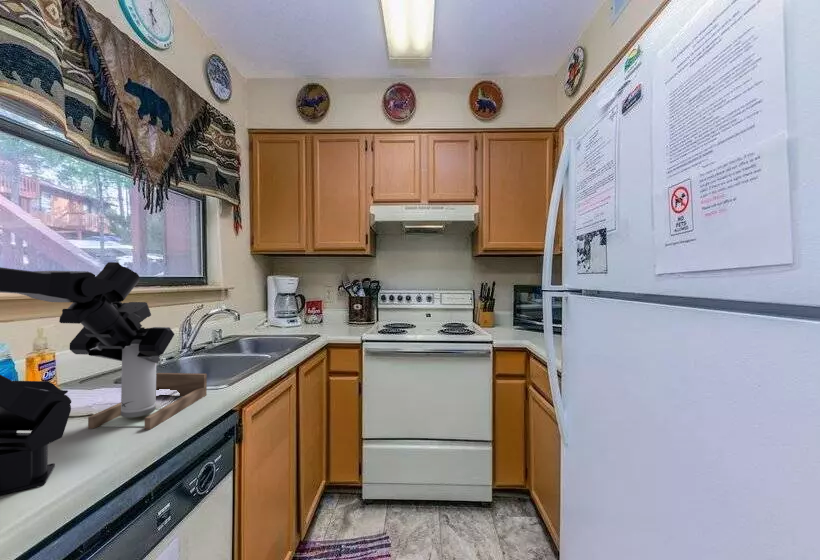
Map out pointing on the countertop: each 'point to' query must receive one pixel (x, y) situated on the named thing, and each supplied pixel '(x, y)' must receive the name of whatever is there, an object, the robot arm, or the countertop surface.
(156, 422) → the shelf lane
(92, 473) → the countertop surface
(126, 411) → the travel mug
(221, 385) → the countertop surface
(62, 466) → the countertop surface
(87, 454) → the countertop surface
